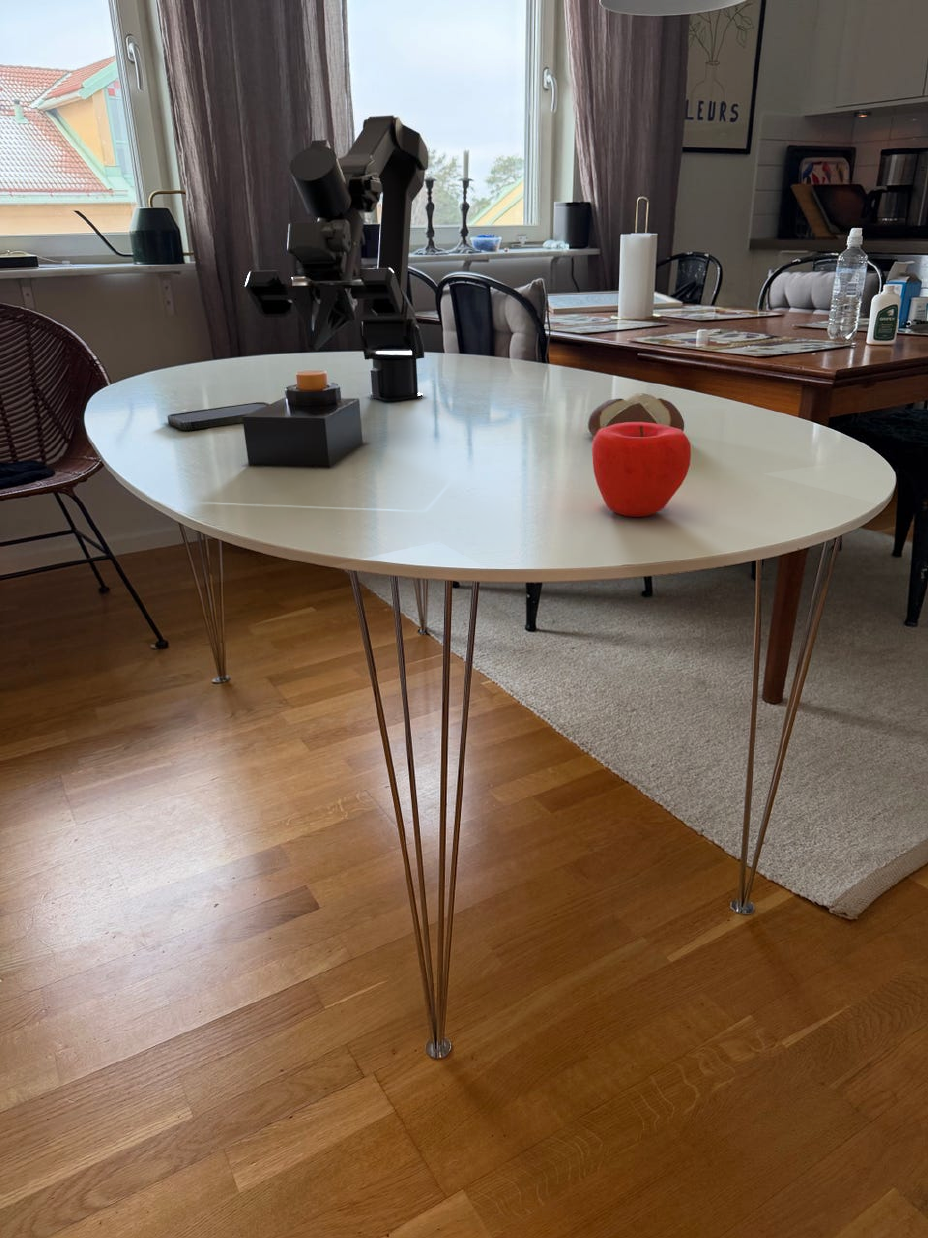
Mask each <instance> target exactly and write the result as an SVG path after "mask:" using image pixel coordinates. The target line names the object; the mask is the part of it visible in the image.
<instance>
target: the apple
mask: <svg viewBox="0 0 928 1238" xmlns="http://www.w3.org/2000/svg"><path fill="white" fill-rule="evenodd" d="M591 457H592V467H593V474H594V478H595V481H596V484H597V487H598V490H599V492H600V494H601V497H602V499H603V501H604V503H605V505H606V506H607V508H608V509H609V510H611V511H612V512H614V513H616V514H618V515H620V516H621V515H622V516H624V517H630V518H643V517H644V518H645V517H648V516H649V517H650V516H652V515H654V514H656V513H658V512H659V511H662V510H663V509H664V508H665V507H666V506H667V504H668V503H669V502H670V500H671V499H672V498H673V497H674V495H675V494H676V492H677V491H678V490H679V489H680V487H681V486H682V485H683V483H684V481H685V479H686V477H687V475H688V472H689V469H690V465H691V459H692V458H691V457H692V447H691V442H690V440H689V439H688V437H687V435H686V434H685V432H684V431H682V430H681V429H677V428H674V427H670V426H667V425H661V424H656V423H646V422H625V423H618V424H614V425H611V426H608V427H605V428H602V429H599V431H598V432H597V434H596V436H594V437H593V438H592V443H591Z"/></svg>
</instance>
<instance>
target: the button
mask: <svg viewBox="0 0 928 1238" xmlns="http://www.w3.org/2000/svg"><path fill="white" fill-rule="evenodd" d="M295 378H296V384H297V388H298V389H300V390H313V389H323V388H327V382H328V379H327V378H328V377H327V371H324V370H305V371H299V372H296V373H295Z"/></svg>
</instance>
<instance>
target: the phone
mask: <svg viewBox="0 0 928 1238" xmlns="http://www.w3.org/2000/svg"><path fill="white" fill-rule="evenodd" d="M269 404H270V403H268V402H265V401H258V402H256V401H255V402H249V403H248V402H247V403H242V404H233V405H228V406H220V407H213V408H205V409H198V410H190V411H185V412H184V411H183V412H176V413H171V414H168V415H167V416H166V417H167V423H168V425H171V426H172V427H175V428H177V429H179V430H181V431H194V430H199V429H207V428H214V427H220V426H221V427H222V426H227V425H233V424H235V425H236V424H241V423H243V419H242V417H243V416H245V415H247V414H250V413H252V412H254V411H256V410H258V409H261V408H263V407H265V406H267V405H269Z"/></svg>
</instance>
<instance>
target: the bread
mask: <svg viewBox="0 0 928 1238" xmlns="http://www.w3.org/2000/svg"><path fill="white" fill-rule="evenodd" d="M625 422H646V423H656V424H661V425H667V426H670V427H674V428H677V429H681V430H682V431H683V432H684V431H685V421H684V418H683V416H682V414H681V412H680V411H679V409H678V408H677V407H676V406H675V405H674V403H672V402H671V401H669V400H667V399H665V398H664V399H663V398H662V397H659V398H657V397H655V395H651V394H649V393H634V394H630V395H628V396H626V397H625V398H612V399H608V400H606V401H604V402H603V403H601V404H600V405H598V406H597V407H596V408H594V410H592V412H591V413H590V415H589V418H588V422H587V429H588V431H589V433H590V435H592V436H594V437H595V436H596V434H597V432H598V431H599V429H602V428H605V427H608V426H611V425H614V424H618V423H625Z"/></svg>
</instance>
